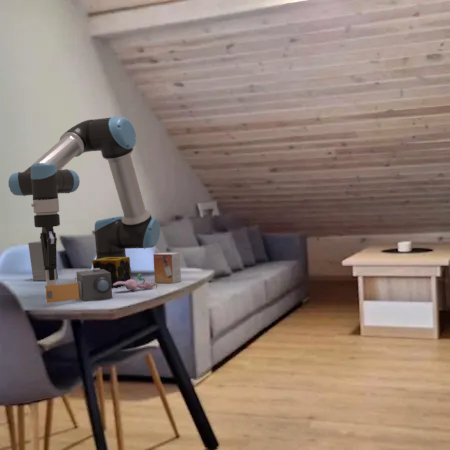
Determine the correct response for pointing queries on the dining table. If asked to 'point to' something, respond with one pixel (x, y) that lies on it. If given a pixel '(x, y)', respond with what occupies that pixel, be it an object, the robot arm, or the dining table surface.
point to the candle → (115, 268)
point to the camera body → (95, 284)
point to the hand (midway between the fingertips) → (51, 290)
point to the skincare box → (37, 261)
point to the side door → (63, 292)
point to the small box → (167, 267)
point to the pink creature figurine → (133, 284)
